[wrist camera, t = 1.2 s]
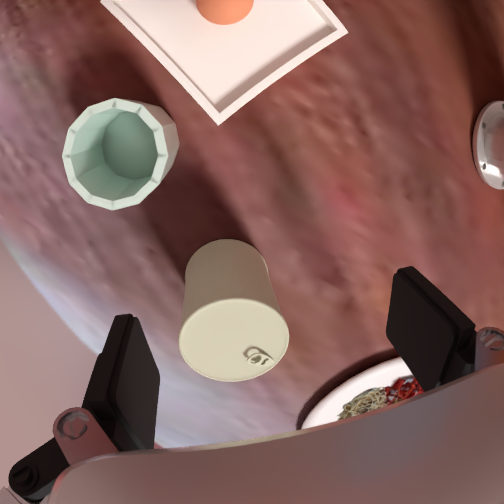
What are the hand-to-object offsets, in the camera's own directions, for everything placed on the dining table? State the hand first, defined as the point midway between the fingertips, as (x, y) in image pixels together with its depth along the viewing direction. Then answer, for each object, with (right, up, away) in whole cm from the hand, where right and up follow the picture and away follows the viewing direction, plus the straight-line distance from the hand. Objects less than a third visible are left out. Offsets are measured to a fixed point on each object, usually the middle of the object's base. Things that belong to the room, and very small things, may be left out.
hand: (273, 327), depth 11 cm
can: (-4, 0, +25) cm, 25 cm away
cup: (-12, +13, +18) cm, 25 cm away
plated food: (+22, -26, +41) cm, 53 cm away
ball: (-3, +25, +13) cm, 29 cm away
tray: (-3, +26, +13) cm, 29 cm away
